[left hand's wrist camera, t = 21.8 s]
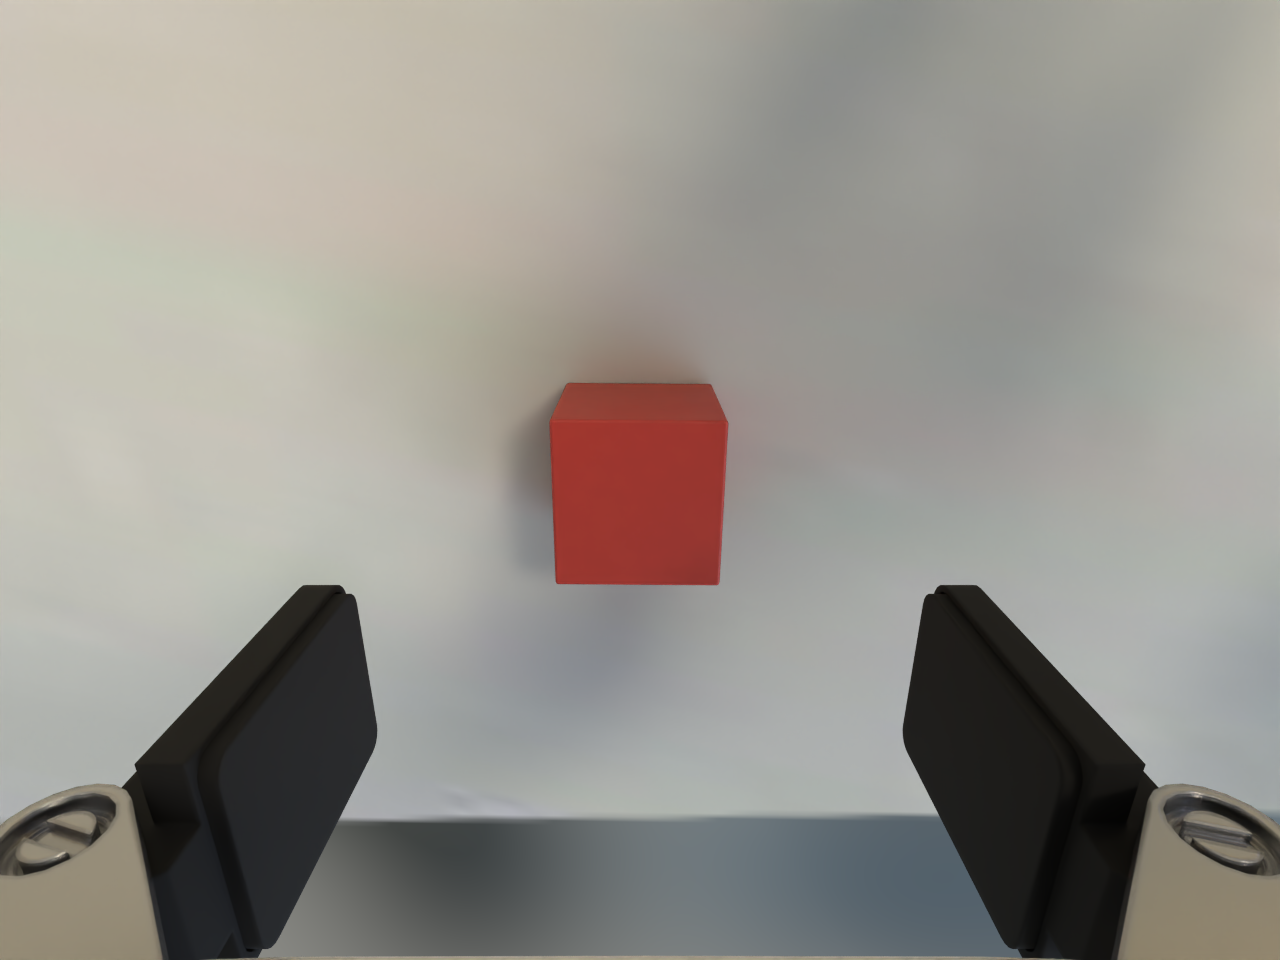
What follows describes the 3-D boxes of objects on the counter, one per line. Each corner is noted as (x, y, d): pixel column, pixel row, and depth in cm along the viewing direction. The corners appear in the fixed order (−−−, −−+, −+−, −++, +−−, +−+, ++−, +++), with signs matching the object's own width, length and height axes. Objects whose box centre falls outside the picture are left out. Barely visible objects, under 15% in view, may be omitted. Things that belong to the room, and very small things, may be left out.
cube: (570, 521, 22) (555, 585, 18) (566, 382, 21) (548, 419, 17) (705, 522, 22) (719, 586, 18) (711, 383, 21) (728, 421, 17)
